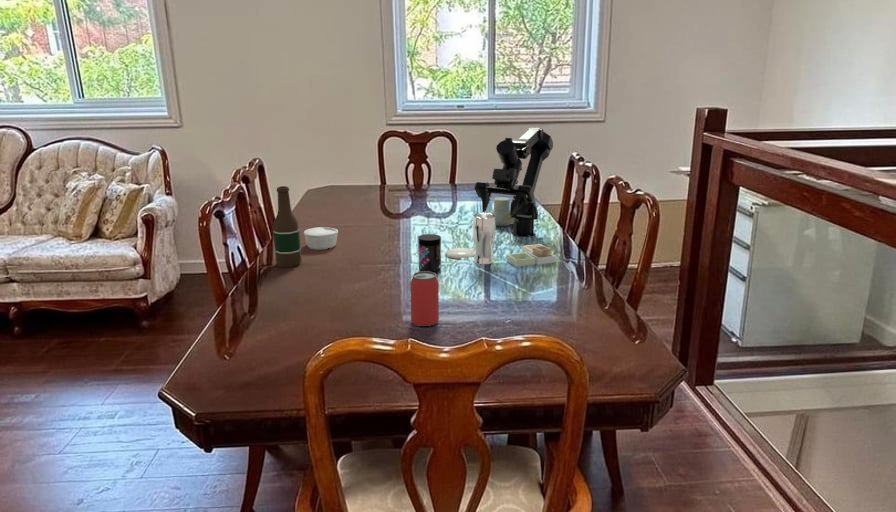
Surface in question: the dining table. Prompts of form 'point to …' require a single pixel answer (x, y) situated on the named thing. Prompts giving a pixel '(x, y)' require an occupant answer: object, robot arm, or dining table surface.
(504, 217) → the air freshener
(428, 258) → the supplement container
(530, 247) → the cream dish
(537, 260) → the pale blue dish
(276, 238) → the beer bottle
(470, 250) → the stone coaster
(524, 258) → the sage dish
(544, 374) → the dining table surface
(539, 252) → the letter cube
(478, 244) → the beer glass
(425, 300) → the beer can
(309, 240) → the ramekin
